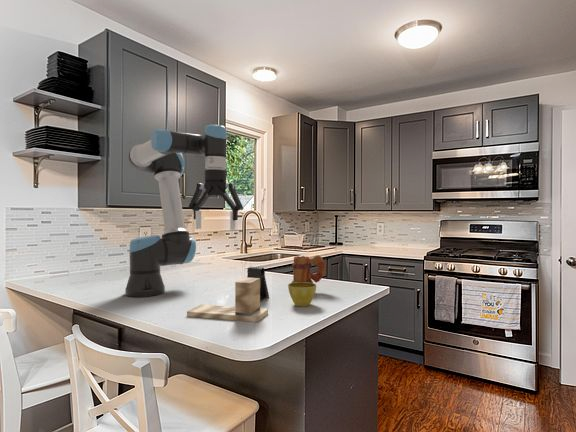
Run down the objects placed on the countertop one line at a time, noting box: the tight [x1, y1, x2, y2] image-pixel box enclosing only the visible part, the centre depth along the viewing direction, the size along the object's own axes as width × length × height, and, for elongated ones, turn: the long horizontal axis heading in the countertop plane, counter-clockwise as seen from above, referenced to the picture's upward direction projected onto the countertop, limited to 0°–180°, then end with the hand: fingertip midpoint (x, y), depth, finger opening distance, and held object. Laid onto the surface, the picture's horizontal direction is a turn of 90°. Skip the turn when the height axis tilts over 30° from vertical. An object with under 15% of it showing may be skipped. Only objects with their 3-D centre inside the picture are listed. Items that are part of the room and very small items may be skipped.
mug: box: [290, 254, 326, 283], centre depth 148 cm, size 15×8×15 cm, turn 68°
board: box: [186, 304, 269, 323], centre depth 114 cm, size 24×9×2 cm, turn 74°
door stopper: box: [246, 266, 270, 302], centre depth 135 cm, size 9×6×12 cm, turn 152°
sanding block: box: [234, 277, 261, 316], centre depth 112 cm, size 5×8×10 cm, turn 164°
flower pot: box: [287, 282, 317, 307], centre depth 126 cm, size 10×10×7 cm
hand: (215, 229), depth 127 cm, fingers open, 13 cm apart
